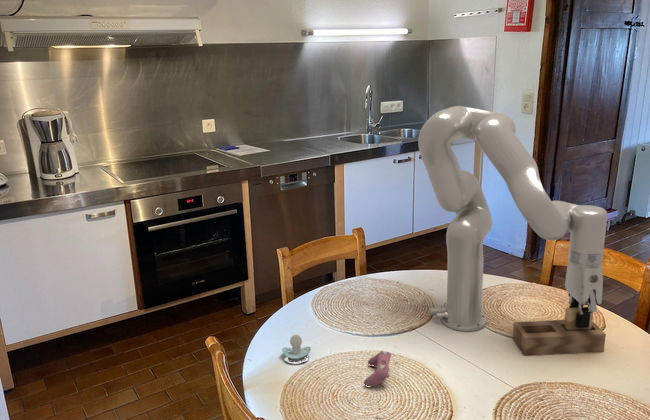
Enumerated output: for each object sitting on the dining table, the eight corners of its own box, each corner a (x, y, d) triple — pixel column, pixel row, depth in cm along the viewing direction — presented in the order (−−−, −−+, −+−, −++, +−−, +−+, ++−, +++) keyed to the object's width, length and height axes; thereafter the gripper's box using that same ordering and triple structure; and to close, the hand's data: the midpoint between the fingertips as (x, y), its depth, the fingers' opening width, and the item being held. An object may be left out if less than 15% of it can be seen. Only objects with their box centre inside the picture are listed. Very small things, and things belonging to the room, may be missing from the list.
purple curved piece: (379, 395, 121) (393, 373, 119) (361, 386, 121) (375, 363, 119) (383, 371, 130) (395, 349, 128) (366, 362, 130) (379, 341, 128)
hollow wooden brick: (524, 355, 131) (525, 338, 130) (512, 339, 139) (513, 322, 137) (603, 351, 131) (605, 334, 130) (587, 335, 139) (589, 318, 137)
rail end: (565, 346, 134) (569, 311, 131) (562, 342, 136) (565, 308, 133) (589, 346, 134) (593, 310, 131) (585, 341, 136) (589, 307, 133)
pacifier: (310, 365, 132) (311, 351, 137) (309, 344, 130) (310, 331, 135) (281, 366, 132) (283, 352, 137) (279, 345, 130) (281, 332, 135)
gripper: (619, 268, 120) (610, 339, 125) (584, 243, 136) (577, 307, 141) (586, 270, 120) (579, 341, 125) (555, 245, 136) (549, 309, 141)
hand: (578, 322), depth 133 cm, fingers open, 3 cm apart
